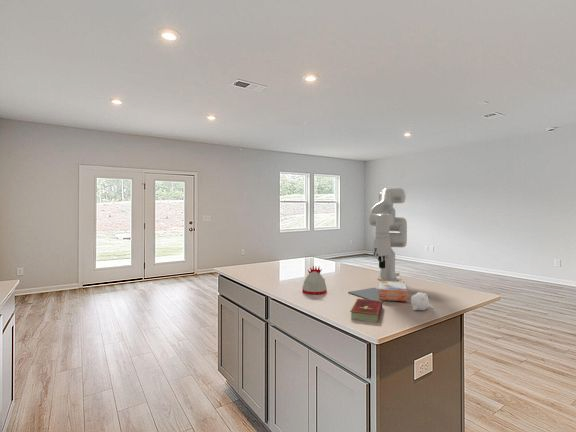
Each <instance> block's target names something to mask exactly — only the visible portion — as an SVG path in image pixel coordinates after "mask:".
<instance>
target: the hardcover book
mask: <svg viewBox="0 0 576 432" xmlns="http://www.w3.org/2000/svg"><path fill="white" fill-rule="evenodd" d="M382 310H383V302H382V301H378V300H368V299H364V298H356V300H355V302H354V304H353V305H352V307H351V309H350V316H351V317H350V318H351V320H356V319H358V321H364V320H367V321H366V322H372V321H376V322H375V323H379V321H380V317H381V313H382Z"/></svg>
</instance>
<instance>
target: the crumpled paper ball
mask: <svg viewBox="0 0 576 432" xmlns="http://www.w3.org/2000/svg"><path fill="white" fill-rule="evenodd" d="M410 304H411V306H412V309H413V311H424V310H427V308H428V307H429V308H431V309H434V306H433V305H431V304H430V301H429V296H428V295H427V293H426V292H419V291H418V292H417V293H415V294H413V295H412V296H411V299H410Z"/></svg>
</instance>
